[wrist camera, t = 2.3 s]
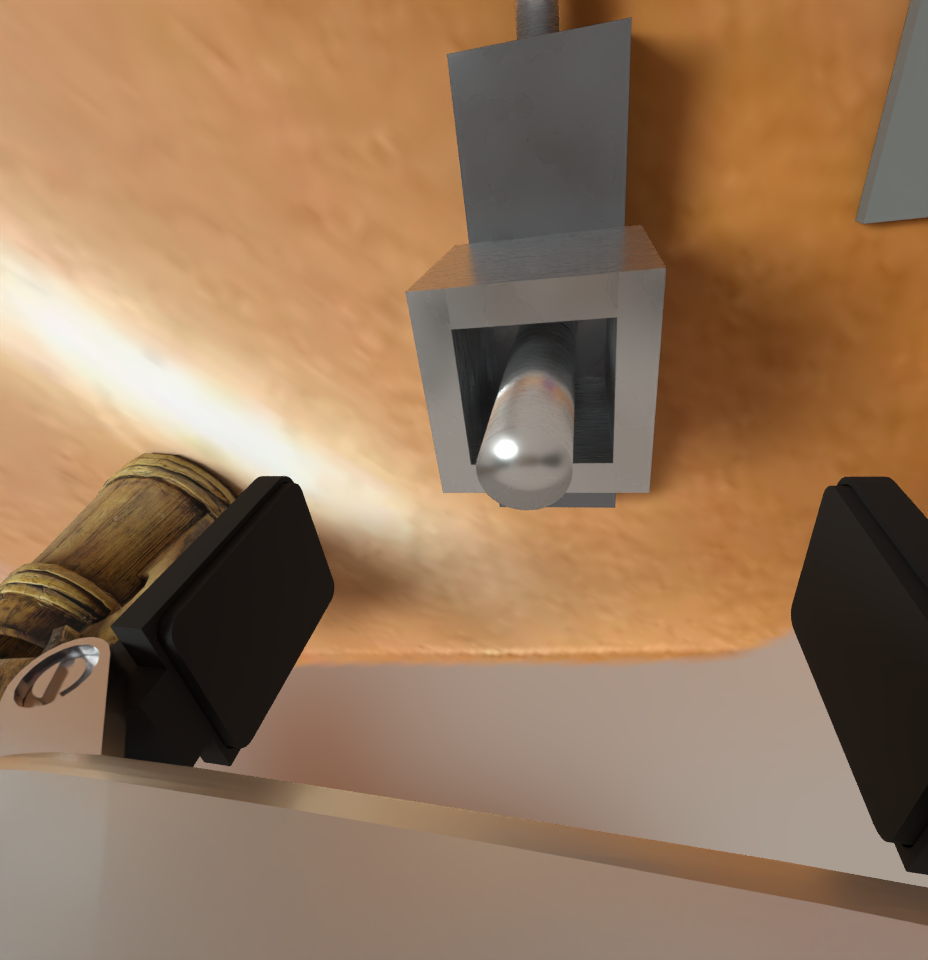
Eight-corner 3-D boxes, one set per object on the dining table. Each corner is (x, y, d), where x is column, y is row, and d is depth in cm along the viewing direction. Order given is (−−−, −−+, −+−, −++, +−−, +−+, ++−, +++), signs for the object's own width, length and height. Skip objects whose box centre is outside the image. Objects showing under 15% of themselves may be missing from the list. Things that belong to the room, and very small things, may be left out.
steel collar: (454, 245, 18) (405, 292, 13) (641, 224, 16) (666, 267, 11) (475, 406, 21) (442, 492, 16) (632, 400, 19) (649, 492, 15)
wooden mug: (345, 536, 30) (119, 930, 15) (187, 581, 35) (-95, 907, 20) (250, 404, 26) (-179, 765, 11) (87, 478, 31) (-348, 789, 17)
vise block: (439, -172, 14) (115, -833, 4) (632, -230, 13) (784, -1307, 3) (506, 476, 25) (459, 694, 16) (612, 475, 24) (632, 710, 15)
